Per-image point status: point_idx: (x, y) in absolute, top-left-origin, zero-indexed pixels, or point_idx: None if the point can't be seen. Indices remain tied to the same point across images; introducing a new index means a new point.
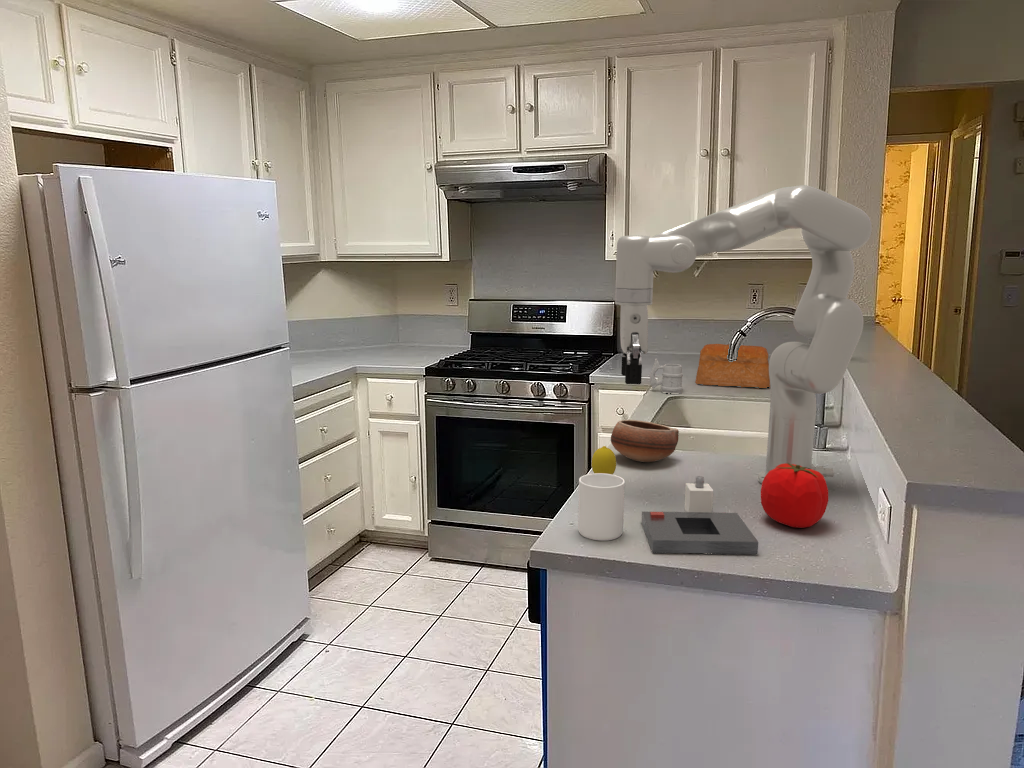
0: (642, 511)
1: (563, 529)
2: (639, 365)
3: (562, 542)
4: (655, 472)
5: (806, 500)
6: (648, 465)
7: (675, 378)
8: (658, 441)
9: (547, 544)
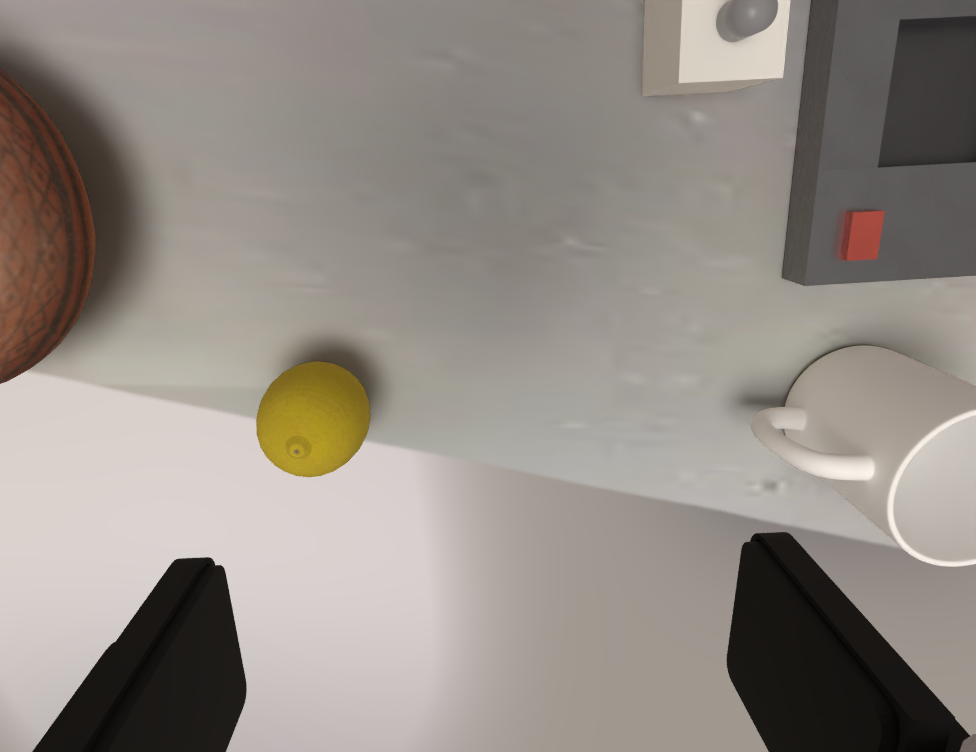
0: (804, 283)
1: (812, 505)
2: (934, 738)
3: None
4: (167, 165)
5: None
6: None
7: None
8: (28, 147)
9: None
